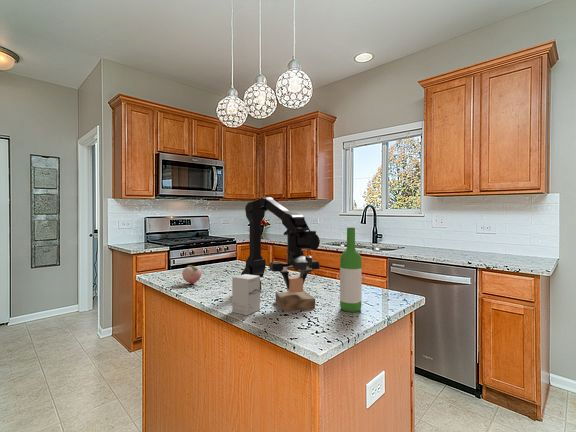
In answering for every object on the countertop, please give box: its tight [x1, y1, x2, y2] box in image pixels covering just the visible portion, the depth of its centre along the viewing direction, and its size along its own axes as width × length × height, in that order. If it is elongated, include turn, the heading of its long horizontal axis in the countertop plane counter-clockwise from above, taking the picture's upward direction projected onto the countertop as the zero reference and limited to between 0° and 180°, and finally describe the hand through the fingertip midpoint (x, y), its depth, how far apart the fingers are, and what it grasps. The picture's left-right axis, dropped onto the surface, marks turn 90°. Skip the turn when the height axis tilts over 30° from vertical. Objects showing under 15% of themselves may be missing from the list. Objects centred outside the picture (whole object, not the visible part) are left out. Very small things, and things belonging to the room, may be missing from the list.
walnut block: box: [275, 290, 316, 312], centre depth 123 cm, size 12×12×4 cm
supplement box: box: [231, 274, 261, 316], centre depth 115 cm, size 7×7×13 cm
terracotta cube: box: [286, 275, 304, 293], centre depth 123 cm, size 5×5×5 cm
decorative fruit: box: [181, 264, 203, 285], centre depth 156 cm, size 9×8×10 cm
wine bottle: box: [339, 227, 363, 313], centre depth 117 cm, size 8×8×30 cm
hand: (294, 288), depth 123 cm, fingers closed on terracotta cube, 5 cm apart
